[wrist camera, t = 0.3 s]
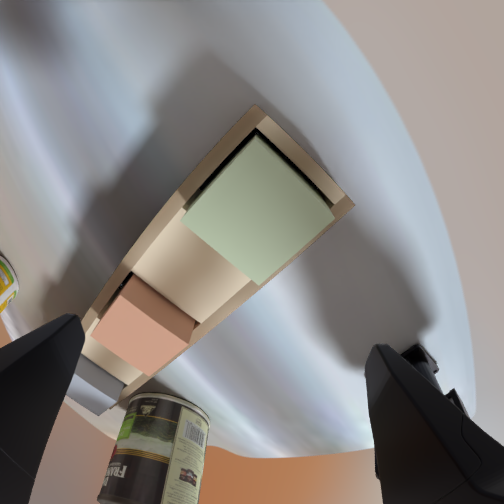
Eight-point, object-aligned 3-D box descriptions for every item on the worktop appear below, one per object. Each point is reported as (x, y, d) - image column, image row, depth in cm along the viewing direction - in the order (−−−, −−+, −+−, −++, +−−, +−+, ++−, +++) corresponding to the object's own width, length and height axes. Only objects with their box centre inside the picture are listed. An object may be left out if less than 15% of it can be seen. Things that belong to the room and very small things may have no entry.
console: (338, 185, 19) (355, 205, 15) (121, 381, 29) (110, 409, 25) (256, 105, 16) (254, 103, 13) (68, 344, 27) (52, 370, 23)
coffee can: (120, 412, 32) (89, 502, 20) (144, 379, 28) (106, 496, 16) (188, 442, 35) (173, 530, 22) (227, 416, 31) (215, 528, 18)
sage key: (320, 193, 17) (335, 218, 13) (259, 249, 19) (258, 285, 15) (256, 132, 15) (254, 139, 12) (197, 196, 17) (180, 221, 14)
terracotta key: (200, 304, 21) (188, 344, 17) (162, 339, 22) (149, 376, 19) (143, 260, 19) (120, 294, 16) (111, 301, 21) (90, 335, 17)
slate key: (130, 368, 25) (117, 401, 21) (111, 386, 26) (98, 416, 23) (86, 337, 23) (67, 368, 20) (71, 359, 25) (55, 387, 21)
